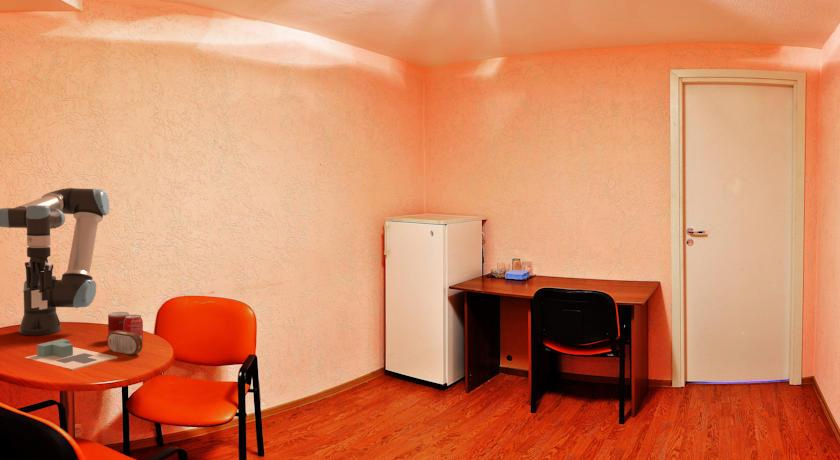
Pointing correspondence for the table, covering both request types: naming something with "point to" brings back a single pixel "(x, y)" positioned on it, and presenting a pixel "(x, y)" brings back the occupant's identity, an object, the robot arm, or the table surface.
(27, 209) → the robot arm
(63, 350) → the t block
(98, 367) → the table surface
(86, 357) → the mat
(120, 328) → the canned food
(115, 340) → the tin
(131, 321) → the soda can
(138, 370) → the table surface
